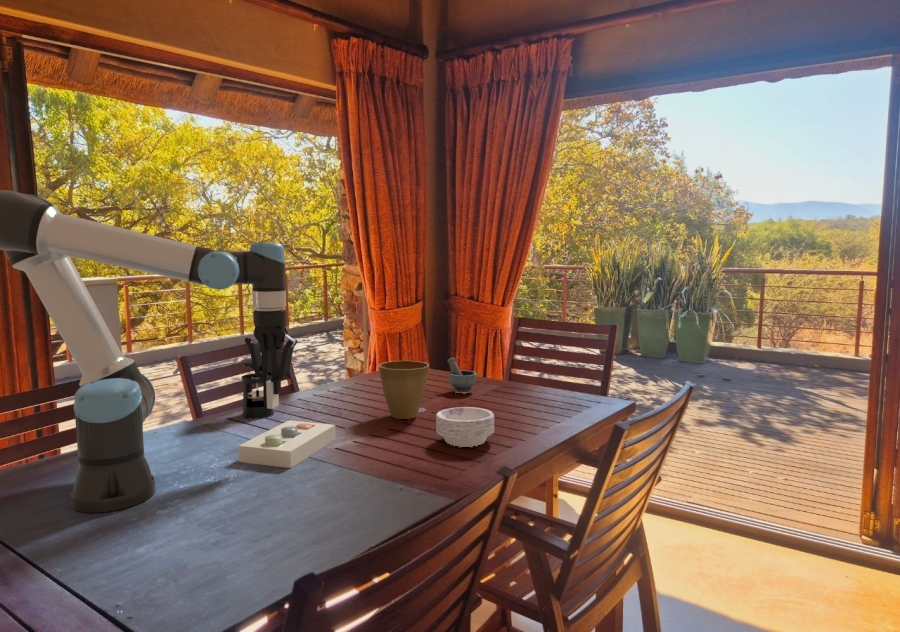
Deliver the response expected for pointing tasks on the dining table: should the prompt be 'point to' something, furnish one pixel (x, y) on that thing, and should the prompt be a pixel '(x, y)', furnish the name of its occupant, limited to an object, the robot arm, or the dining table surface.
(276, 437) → the sage button
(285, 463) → the button panel
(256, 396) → the french press
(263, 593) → the dining table surface
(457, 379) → the mortar and pestle
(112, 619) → the dining table surface
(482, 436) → the paper bowls
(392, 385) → the plant pot
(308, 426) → the terracotta button
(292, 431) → the grey button
